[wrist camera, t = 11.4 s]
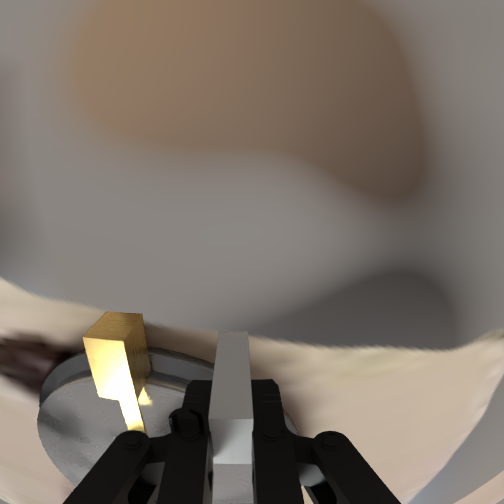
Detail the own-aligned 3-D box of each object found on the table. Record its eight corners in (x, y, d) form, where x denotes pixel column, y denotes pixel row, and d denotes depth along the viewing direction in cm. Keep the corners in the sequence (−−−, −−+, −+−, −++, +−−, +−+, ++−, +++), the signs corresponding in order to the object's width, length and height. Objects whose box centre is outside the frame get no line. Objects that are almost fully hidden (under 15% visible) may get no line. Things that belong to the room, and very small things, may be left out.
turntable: (91, 498, 22) (84, 518, 18) (1, 300, 16) (-27, 317, 13) (280, 517, 23) (283, 540, 19) (310, 314, 17) (325, 342, 14)
